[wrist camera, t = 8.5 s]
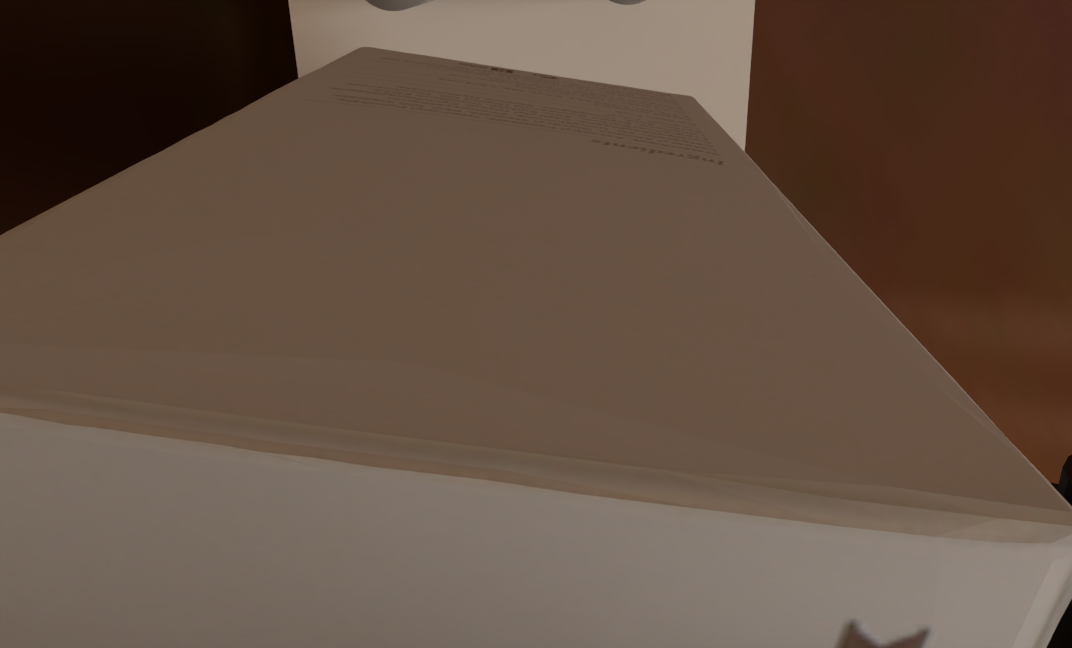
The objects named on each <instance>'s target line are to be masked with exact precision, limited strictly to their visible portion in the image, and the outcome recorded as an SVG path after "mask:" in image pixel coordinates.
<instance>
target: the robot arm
mask: <svg viewBox="0 0 1072 648" xmlns="http://www.w3.org/2000/svg"><path fill="white" fill-rule="evenodd" d="M1050 484H1051V485H1052V486H1053V487H1054V488H1055V489H1056V490H1057V491H1058V492H1059V493H1060V494H1061V495H1062V496H1063V497H1064V499H1065V500H1066V501H1067V502H1068V503H1069V504H1070V505H1071V506H1072V455H1070V456H1069V457H1068V458H1067V460H1066V462H1065V464H1064V466H1063V468H1062V472H1061V476H1060V480H1059V484H1054V483H1050ZM1046 648H1072V599H1071V601H1070V603H1069V605H1068V606H1067V608H1066V610H1065V612H1064V614H1063V615H1062V617H1061V619H1060V621H1059V623H1058V625H1057V627H1056V629H1055V631H1054V633H1053V635H1052V637H1051V639H1050V641H1049V643H1048V645H1047V647H1046Z"/></svg>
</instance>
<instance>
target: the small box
mask: <svg viewBox="0 0 1072 648" xmlns="http://www.w3.org/2000/svg"><path fill="white" fill-rule="evenodd" d="M1071 599H1072V506H1071V505H1070V504H1069V503H1068V502H1067V501H1066V500H1065V499H1064V497H1063V496H1062V495H1061V494H1060V493H1059V492H1058V491H1057V490H1056V489H1055V488H1054V487H1053V486H1052V485H1051V484H1050V482H1049V481H1048V480H1047V479H1046V478H1045V477H1044V476H1043V475H1042V474H1041V473H1040V472H1039V471H1038V470H1037V469H1036V468H1035V466H1034V465H1033V464H1032V463H1031V462H1030V461H1029V460H1028V459H1027V458H1026V457H1025V456H1024V455H1023V454H1022V453H1021V452H1020V451H1019V450H1018V449H1017V448H1016V447H1015V446H1014V445H1013V444H1012V443H1011V442H1010V440H1009V439H1008V438H1007V437H1006V436H1005V435H1004V434H1003V433H1002V432H1001V431H1000V430H999V429H998V427H997V426H996V425H995V424H994V423H993V422H992V421H991V420H990V419H989V417H988V416H987V415H986V414H985V413H984V412H983V411H982V410H981V409H980V408H979V406H978V405H977V404H976V403H975V402H974V401H973V400H972V399H971V398H970V397H969V395H968V394H967V393H966V392H965V391H964V390H963V389H962V388H961V387H960V385H959V384H958V383H957V382H956V381H955V380H954V379H953V378H952V377H951V376H950V375H949V374H948V372H947V371H946V370H945V369H944V368H943V367H942V366H941V365H940V364H939V363H938V362H937V361H936V360H935V358H934V357H933V356H932V355H931V354H930V353H929V352H928V351H927V350H926V349H925V348H924V347H923V346H922V344H921V343H920V342H919V341H918V340H917V339H916V338H915V337H914V336H913V335H912V334H911V333H910V331H909V330H908V329H907V328H906V327H905V326H904V325H903V324H902V323H901V322H900V321H899V320H898V319H897V317H896V316H895V315H894V314H893V313H892V312H891V311H890V310H889V309H888V308H887V307H886V306H885V305H884V303H883V302H882V301H881V300H880V299H879V298H878V297H877V296H876V295H875V294H874V293H873V292H872V290H871V289H870V288H869V287H868V286H867V285H866V284H865V283H864V282H863V281H862V280H861V279H860V278H859V276H858V275H857V274H856V273H855V272H854V271H853V270H852V269H851V268H850V267H849V266H848V265H847V263H846V262H845V261H844V260H843V259H842V258H841V257H840V256H839V255H838V254H837V253H836V252H835V250H834V249H833V248H832V247H831V246H830V245H829V244H828V243H827V242H826V241H825V240H824V238H823V237H822V236H821V235H820V234H819V233H818V232H817V231H816V230H815V229H814V228H813V227H812V225H811V224H810V223H809V222H808V221H807V220H806V219H805V218H804V217H803V216H802V215H801V213H800V212H799V211H798V210H797V209H796V208H795V207H794V206H793V205H792V204H791V202H790V201H789V200H788V199H787V198H786V197H785V196H784V195H783V194H782V193H781V192H780V190H779V189H778V188H777V187H776V186H775V185H774V184H773V183H772V182H771V181H770V180H769V179H768V177H767V176H766V175H765V174H764V173H763V172H762V170H761V169H760V168H759V167H758V166H757V165H756V164H755V163H754V162H753V160H752V159H751V158H750V157H749V156H748V155H747V154H746V153H745V152H744V151H743V149H742V148H741V147H740V146H739V145H738V144H737V143H736V142H735V141H734V140H733V139H732V138H731V137H730V136H729V135H728V134H727V133H726V132H725V130H724V129H723V128H722V127H721V126H720V125H719V124H718V123H717V122H716V121H715V120H714V119H713V118H712V117H711V115H710V114H709V113H708V112H707V111H706V110H705V109H704V108H703V107H702V106H701V105H700V104H699V103H698V102H697V100H696V99H695V98H694V97H692V96H688V95H680V94H672V93H665V92H658V91H652V90H646V89H639V88H633V87H626V86H619V85H613V84H606V83H599V82H593V81H586V80H580V79H573V78H566V77H560V76H553V75H547V74H540V73H534V72H527V71H521V70H515V69H508V68H502V67H495V66H489V65H482V64H476V63H469V62H463V61H457V60H451V59H445V58H439V57H432V56H426V55H419V54H412V53H405V52H398V51H392V50H386V49H380V48H374V47H360V48H358V49H356V50H354V51H352V52H350V53H348V54H347V55H344V56H342V57H341V58H339V59H337V60H335V61H333V62H331V63H329V64H327V65H325V66H323V67H322V68H320V69H317V70H315V71H313V72H311V73H309V74H306V75H304V76H302V77H300V78H298V79H296V80H294V81H292V82H290V83H289V84H287V85H285V86H283V87H281V88H279V89H277V90H275V91H273V92H271V93H269V94H267V95H266V96H264V97H262V98H260V99H259V100H257V101H255V102H253V103H251V104H250V105H248V106H246V107H244V108H243V109H241V110H239V111H237V112H235V113H233V114H231V115H229V116H226V117H224V118H223V119H221V120H219V121H217V122H216V123H214V124H212V125H211V126H209V127H206V128H204V129H202V130H200V131H198V132H196V133H194V134H192V135H190V136H188V137H186V138H184V139H183V140H181V141H179V142H177V143H175V144H174V145H172V146H170V147H168V148H166V149H165V150H163V151H161V152H159V153H157V154H155V155H153V156H151V157H149V158H147V159H145V160H143V161H141V162H139V163H137V164H135V165H133V166H131V167H129V168H127V169H125V170H124V171H122V172H120V173H118V174H116V175H114V176H112V177H110V178H108V179H107V180H105V181H103V182H101V183H99V184H97V185H95V186H93V187H91V188H89V189H87V190H85V191H83V192H81V193H80V194H78V195H76V196H74V197H72V198H70V199H68V200H66V201H64V202H62V203H60V204H58V205H57V206H55V207H53V208H51V209H49V210H47V211H45V212H43V213H41V214H39V215H37V216H36V217H34V218H32V219H30V220H28V221H26V222H24V223H22V224H21V225H19V226H17V227H15V228H13V229H11V230H9V231H8V232H6V233H4V234H2V235H0V648H1046V647H1047V645H1048V643H1049V641H1050V639H1051V637H1052V635H1053V633H1054V631H1055V629H1056V627H1057V625H1058V623H1059V621H1060V619H1061V617H1062V615H1063V614H1064V612H1065V610H1066V608H1067V606H1068V605H1069V603H1070V601H1071Z"/></svg>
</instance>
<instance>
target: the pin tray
mask: <svg viewBox="0 0 1072 648" xmlns="http://www.w3.org/2000/svg"><path fill="white" fill-rule="evenodd" d="M288 2H289V9H290V17H291V25H292V32H293V40H294V47H295V55H296V63H297V70H298V78H300V77H302V76H304V75H306V74H309V73H311V72H313V71H315V70H317V69H320V68H322V67H323V66H325V65H327V64H329V63H331V62H333V61H335V60H337V59H339V58H341V57H342V56H344V55H347V54H348V53H350V52H352V51H354V50H356V49H358V48H360V47H374V48H380V49H386V50H392V51H398V52H405V53H412V54H419V55H426V56H432V57H439V58H445V59H451V60H457V61H463V62H469V63H476V64H482V65H489V66H495V67H502V68H508V69H515V70H521V71H527V72H534V73H540V74H547V75H553V76H560V77H566V78H573V79H580V80H586V81H593V82H599V83H606V84H613V85H619V86H626V87H633V88H639V89H646V90H652V91H658V92H665V93H672V94H680V95H688V96H692V97H694V98H695V99H696V100H697V102H698V103H699V104H700V105H701V106H702V107H703V108H704V109H705V110H706V111H707V112H708V113H709V114H710V115H711V117H712V118H713V119H714V120H715V121H716V122H717V123H718V124H719V125H720V126H721V127H722V128H723V129H724V130H725V132H726V133H727V134H728V135H729V136H730V137H731V138H732V139H733V140H734V141H735V142H736V143H737V144H738V145H739V146H740V147H741V148H742V149H743V151H744V152H745V138H746V123H747V109H748V94H749V80H750V66H751V51H752V37H753V22H754V8H755V0H288Z"/></svg>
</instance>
